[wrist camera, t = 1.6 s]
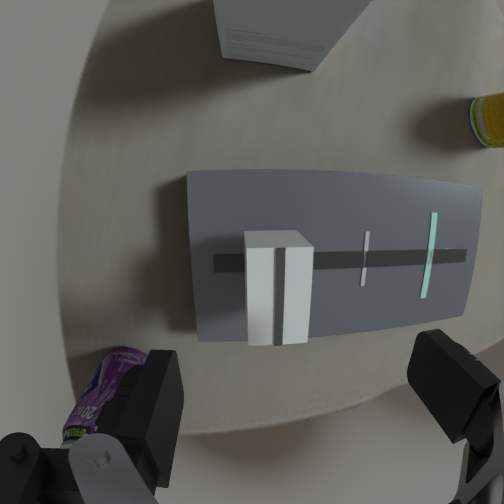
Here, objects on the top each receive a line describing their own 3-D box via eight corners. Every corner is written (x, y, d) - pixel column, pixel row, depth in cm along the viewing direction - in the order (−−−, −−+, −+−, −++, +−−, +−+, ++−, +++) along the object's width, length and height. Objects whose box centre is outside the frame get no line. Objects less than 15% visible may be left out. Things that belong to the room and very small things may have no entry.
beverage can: (129, 330, 24) (74, 427, 12) (187, 379, 25) (168, 485, 14) (92, 367, 24) (42, 451, 13) (145, 409, 26) (118, 499, 14)
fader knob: (243, 226, 18) (246, 248, 13) (291, 225, 18) (314, 247, 13) (245, 300, 19) (248, 346, 14) (289, 299, 20) (307, 343, 14)
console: (193, 172, 20) (186, 171, 17) (461, 184, 22) (483, 187, 19) (202, 322, 24) (198, 342, 21) (446, 303, 25) (463, 315, 22)
